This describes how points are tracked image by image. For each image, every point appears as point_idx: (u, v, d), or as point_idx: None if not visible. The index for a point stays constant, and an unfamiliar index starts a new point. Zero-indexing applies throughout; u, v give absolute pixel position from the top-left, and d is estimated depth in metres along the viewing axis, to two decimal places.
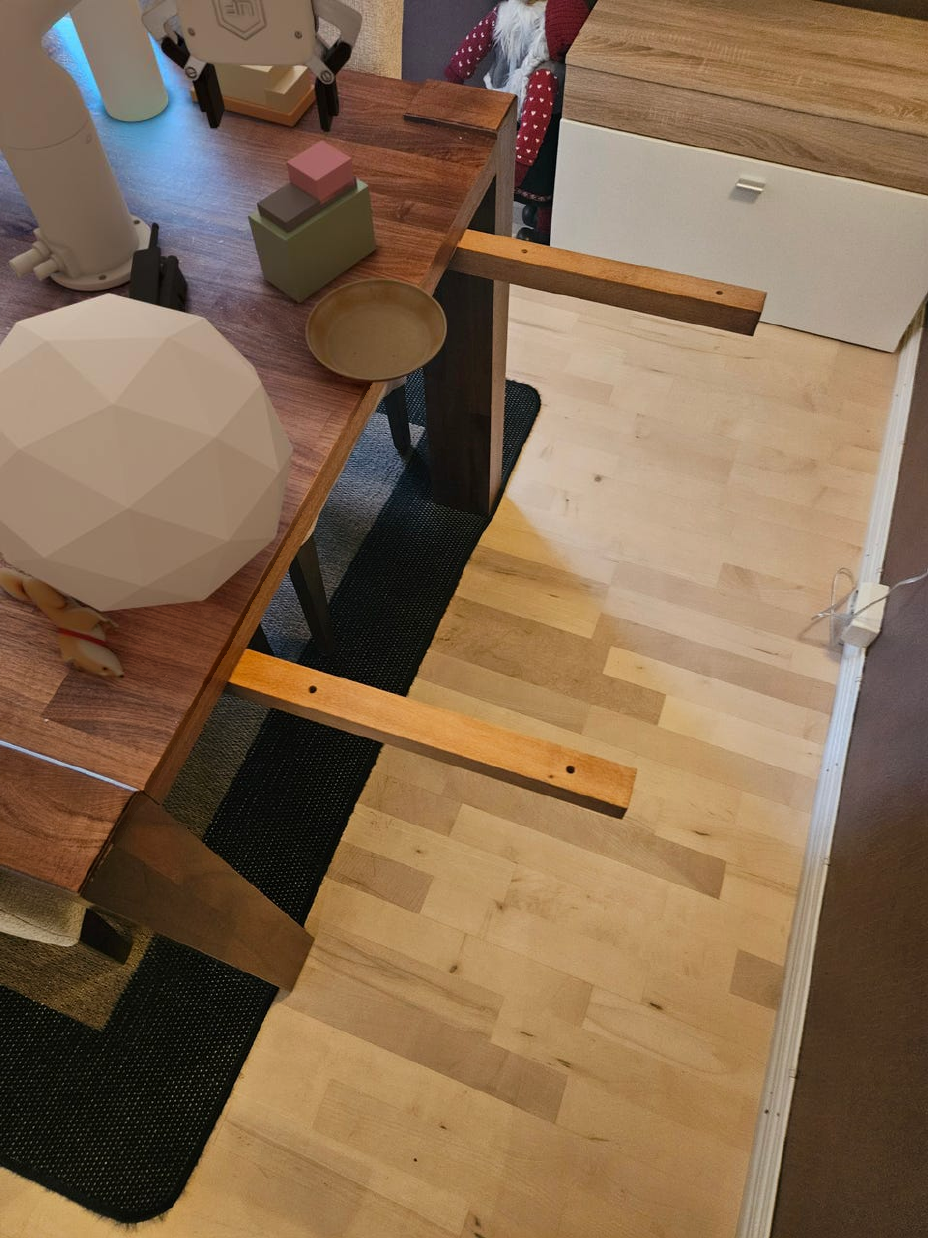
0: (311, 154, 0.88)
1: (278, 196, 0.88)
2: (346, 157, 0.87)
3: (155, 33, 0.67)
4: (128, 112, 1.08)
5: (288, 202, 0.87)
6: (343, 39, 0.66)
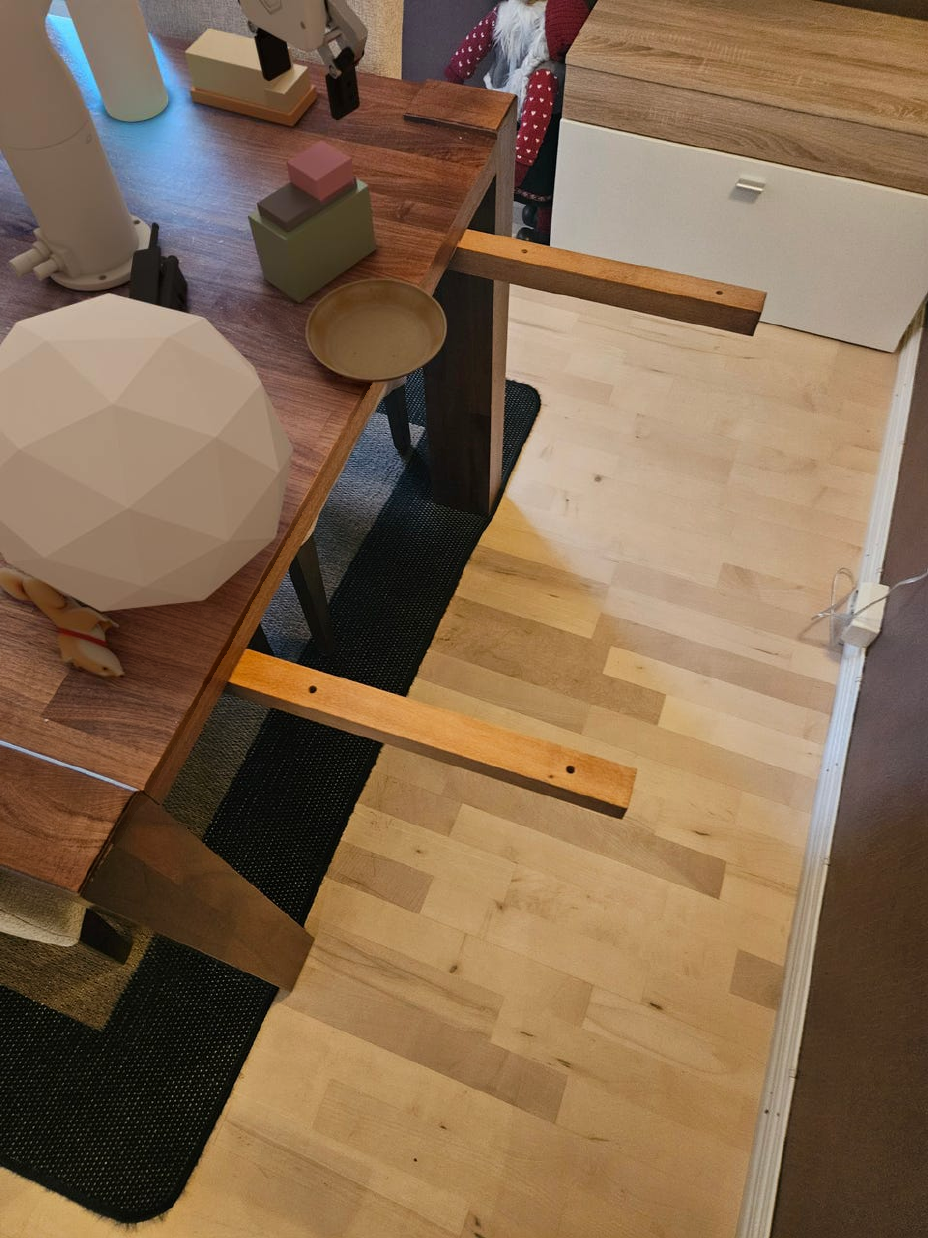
0: (311, 154, 0.88)
1: (278, 196, 0.88)
2: (346, 157, 0.87)
3: None
4: (128, 112, 1.08)
5: (288, 202, 0.87)
6: (347, 44, 0.72)
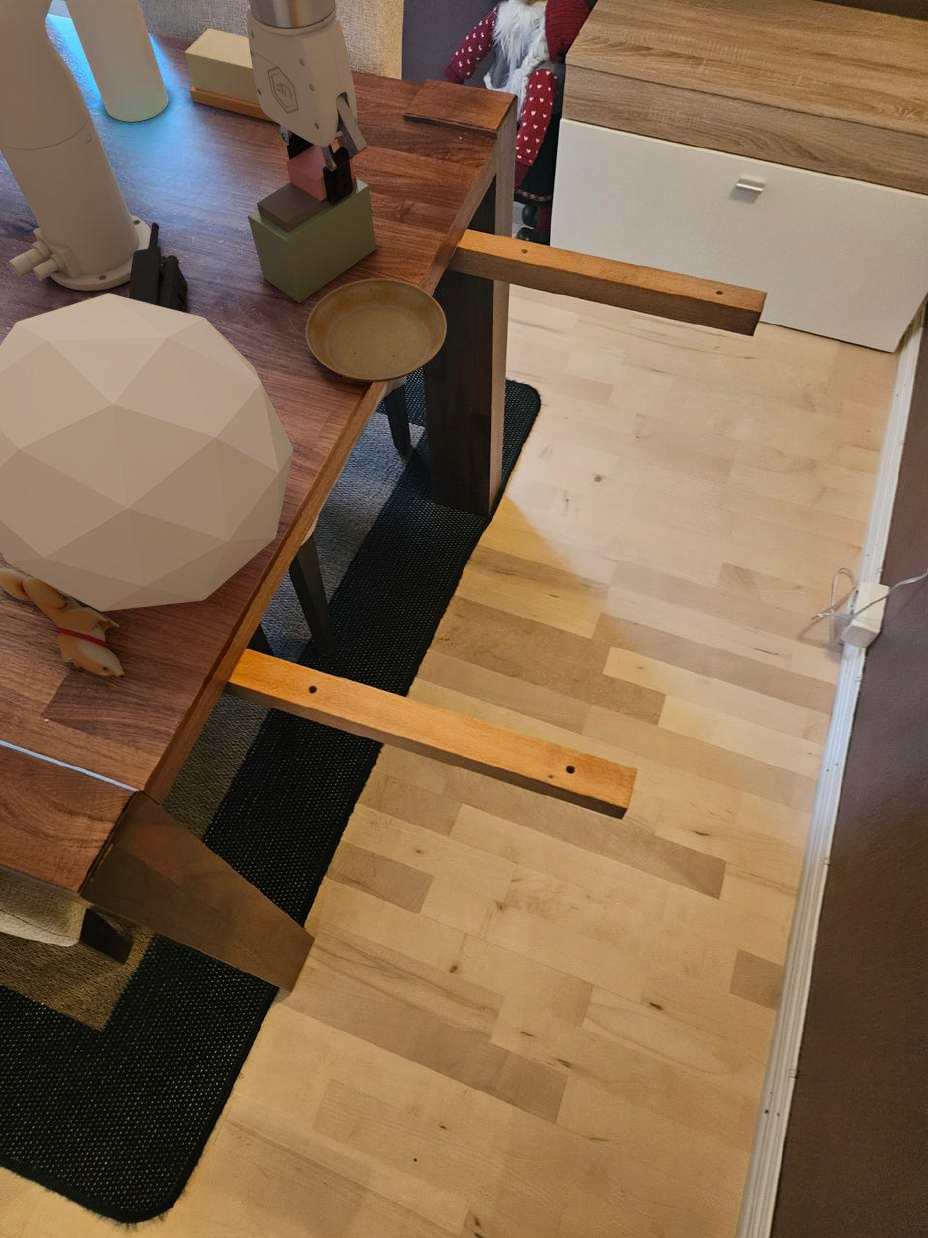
0: (311, 154, 0.88)
1: (278, 196, 0.88)
2: None
3: None
4: (128, 112, 1.08)
5: (289, 202, 0.87)
6: (345, 147, 0.82)
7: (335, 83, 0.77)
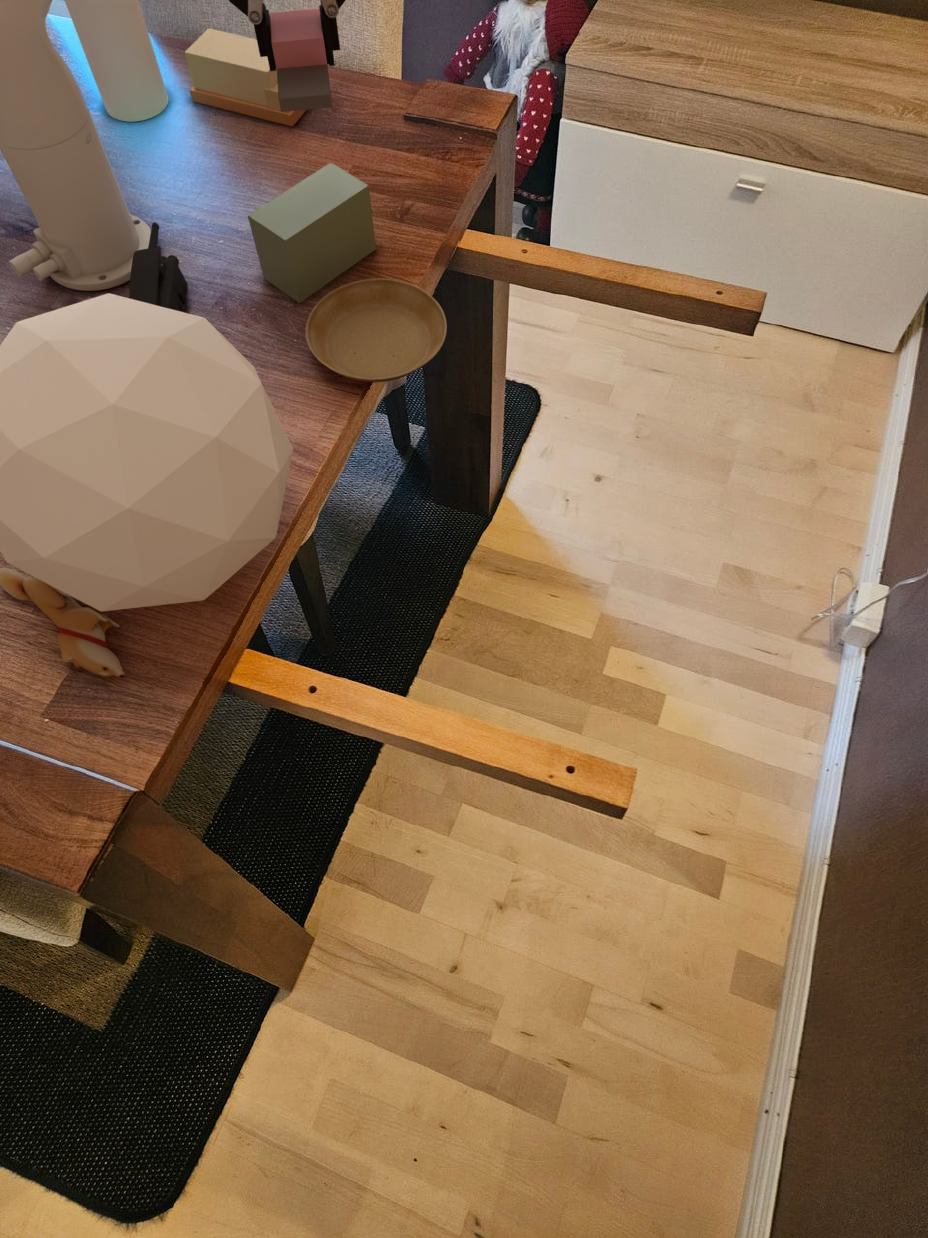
0: (282, 25, 0.76)
1: (287, 83, 0.75)
2: (314, 10, 0.77)
3: None
4: (128, 112, 1.08)
5: (305, 81, 0.75)
6: None
7: None
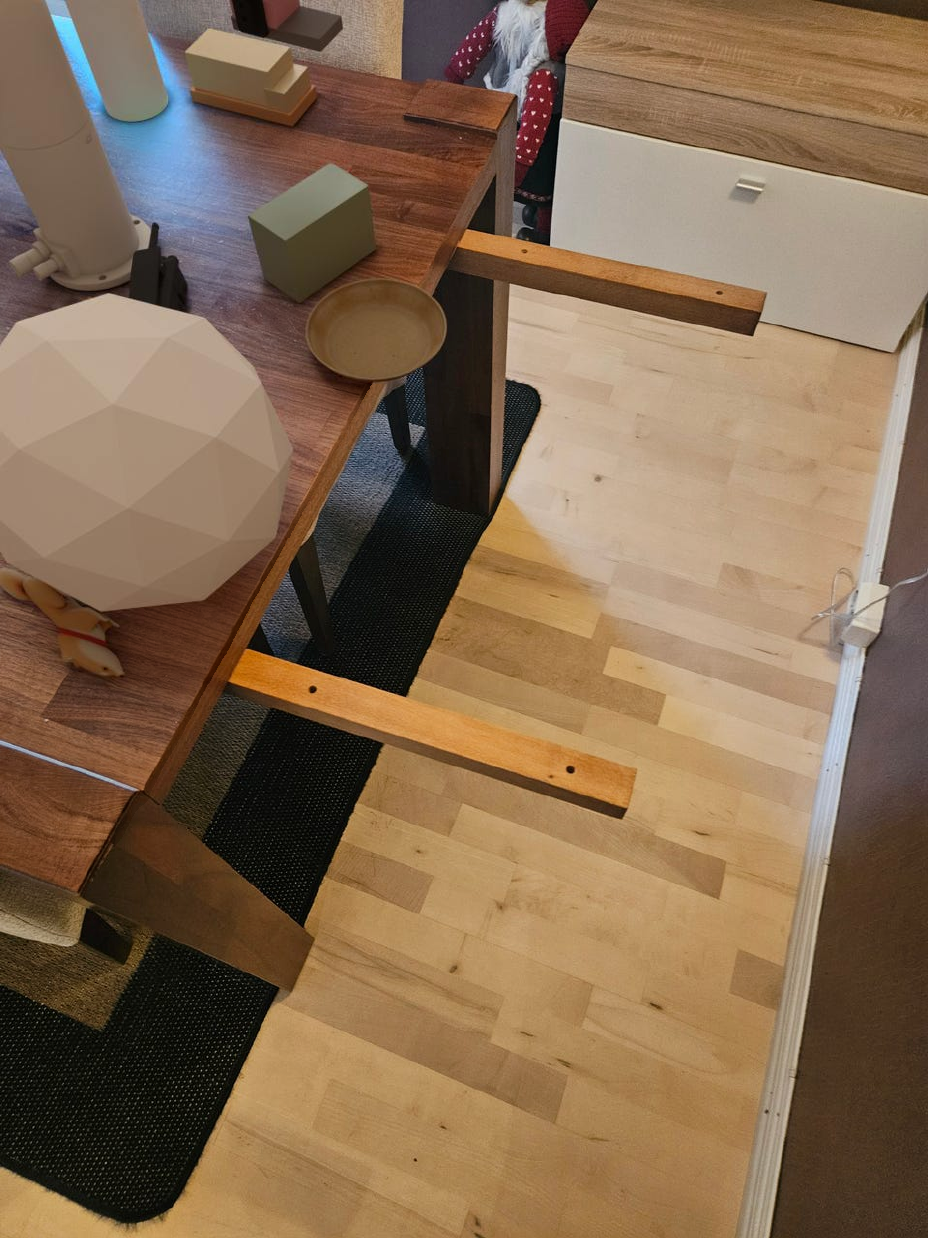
0: None
1: (303, 29, 0.82)
2: None
3: None
4: (128, 112, 1.08)
5: (311, 20, 0.83)
6: None
7: None
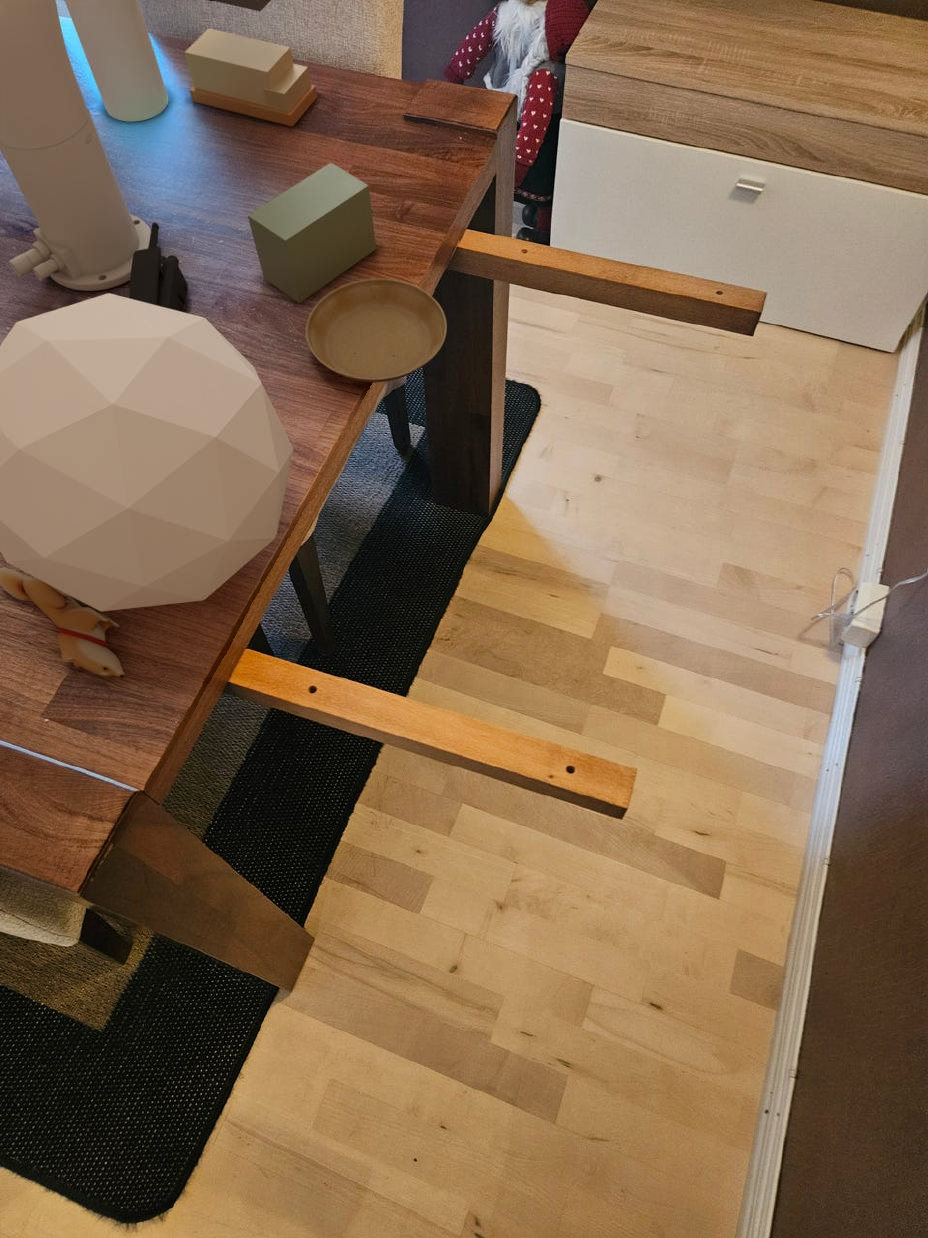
0: None
1: None
2: None
3: None
4: (128, 112, 1.08)
5: None
6: None
7: None
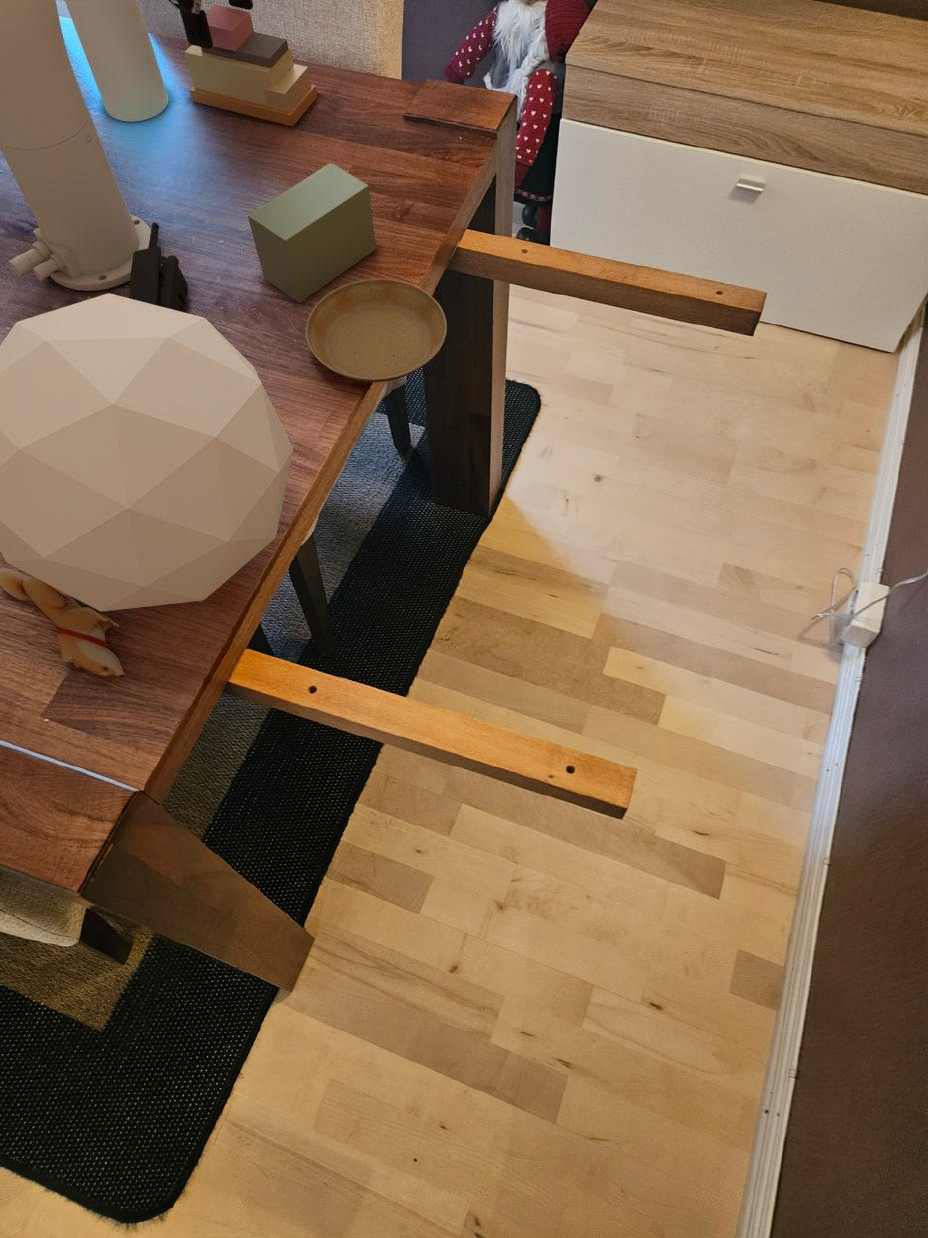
0: (217, 22, 1.03)
1: (257, 50, 1.04)
2: (215, 6, 1.05)
3: None
4: (128, 112, 1.08)
5: (262, 43, 1.05)
6: None
7: None
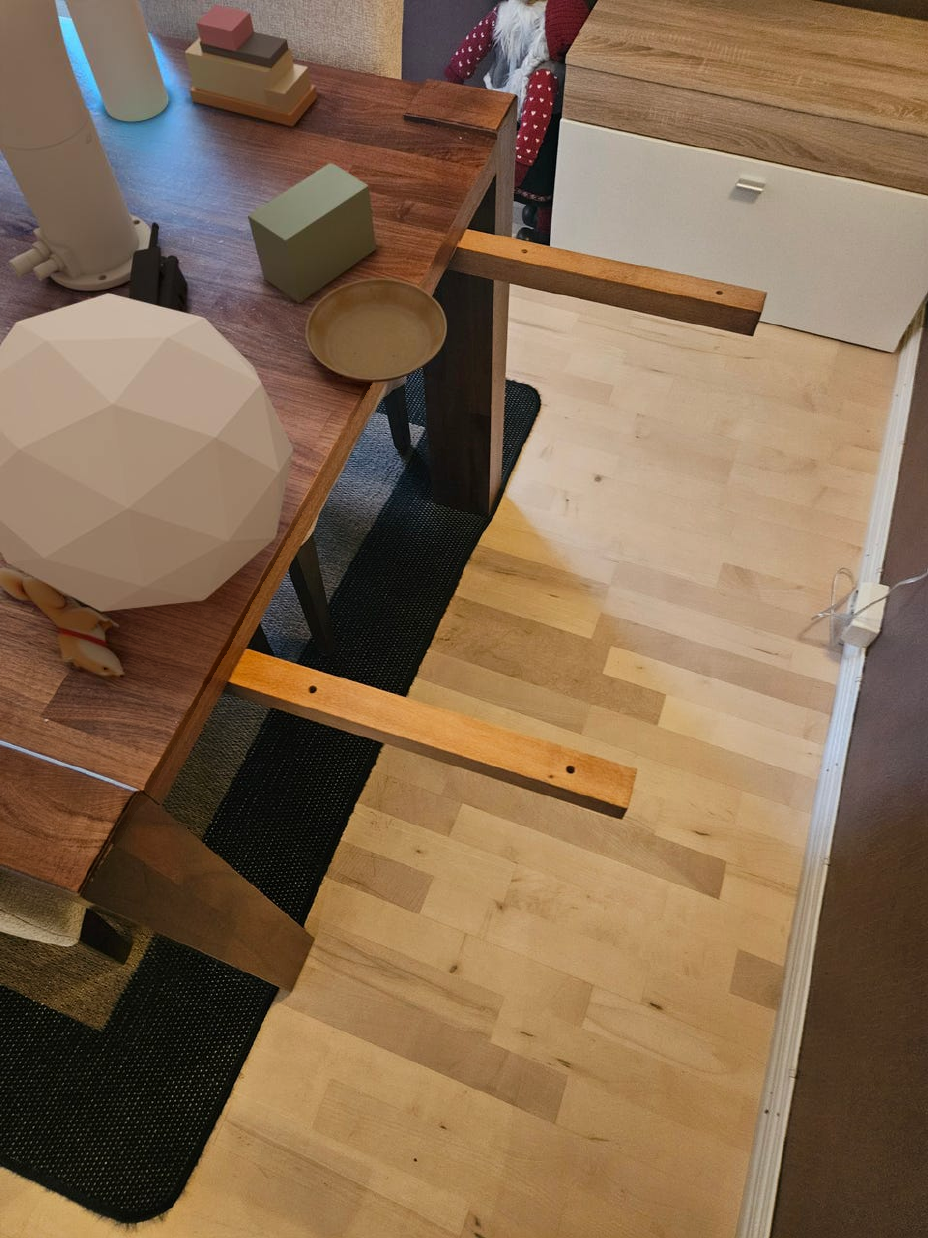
0: (217, 22, 1.03)
1: (257, 50, 1.04)
2: (215, 6, 1.05)
3: None
4: (128, 112, 1.08)
5: (262, 43, 1.05)
6: None
7: None
